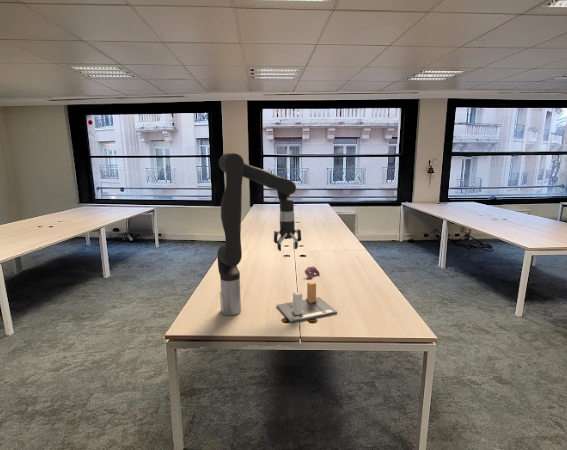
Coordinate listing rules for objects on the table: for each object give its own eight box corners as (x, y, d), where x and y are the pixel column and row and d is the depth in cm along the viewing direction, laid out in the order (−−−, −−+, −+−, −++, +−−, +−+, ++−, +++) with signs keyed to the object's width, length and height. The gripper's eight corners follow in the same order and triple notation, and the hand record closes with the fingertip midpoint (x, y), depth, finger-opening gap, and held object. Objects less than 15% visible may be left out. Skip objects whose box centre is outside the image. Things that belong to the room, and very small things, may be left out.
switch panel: (291, 323, 147) (291, 320, 147) (276, 306, 164) (276, 304, 163) (337, 313, 156) (337, 311, 156) (319, 298, 173) (319, 296, 172)
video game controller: (315, 275, 210) (311, 265, 211) (320, 274, 207) (316, 263, 208) (306, 280, 203) (302, 269, 204) (311, 278, 200) (307, 268, 201)
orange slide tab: (309, 303, 165) (310, 284, 163) (306, 299, 169) (306, 281, 167) (317, 301, 166) (317, 283, 164) (313, 298, 170) (313, 280, 168)
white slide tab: (295, 315, 152) (295, 295, 150) (291, 311, 156) (291, 292, 154) (303, 313, 154) (303, 294, 152) (299, 309, 157) (299, 290, 156)
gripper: (275, 222, 162) (276, 253, 165) (302, 219, 165) (303, 250, 169) (271, 219, 169) (272, 249, 172) (297, 217, 173) (298, 246, 176)
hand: (287, 249), depth 171 cm, fingers open, 8 cm apart
